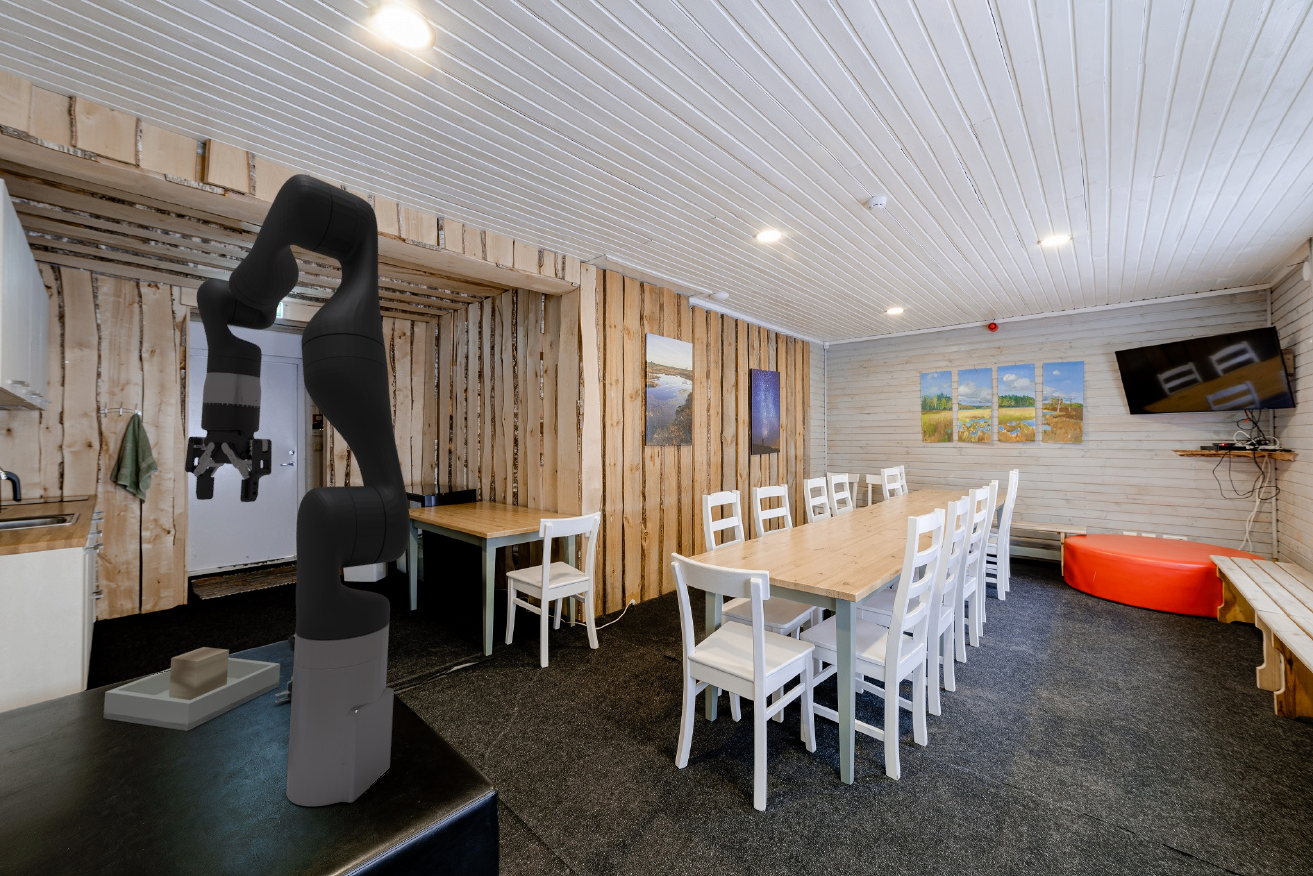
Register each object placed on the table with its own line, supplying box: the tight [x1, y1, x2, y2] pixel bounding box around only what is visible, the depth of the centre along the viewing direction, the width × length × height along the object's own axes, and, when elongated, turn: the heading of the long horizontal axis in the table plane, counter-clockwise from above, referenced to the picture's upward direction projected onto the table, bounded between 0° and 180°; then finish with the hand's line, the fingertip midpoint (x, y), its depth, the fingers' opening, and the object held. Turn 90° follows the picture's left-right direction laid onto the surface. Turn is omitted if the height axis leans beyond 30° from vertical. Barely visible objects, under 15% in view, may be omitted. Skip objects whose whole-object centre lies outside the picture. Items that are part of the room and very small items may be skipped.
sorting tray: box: [103, 657, 281, 732], centre depth 76 cm, size 14×14×4 cm
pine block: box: [169, 646, 230, 700], centre depth 77 cm, size 4×4×6 cm
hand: (226, 500), depth 87 cm, fingers open, 8 cm apart
